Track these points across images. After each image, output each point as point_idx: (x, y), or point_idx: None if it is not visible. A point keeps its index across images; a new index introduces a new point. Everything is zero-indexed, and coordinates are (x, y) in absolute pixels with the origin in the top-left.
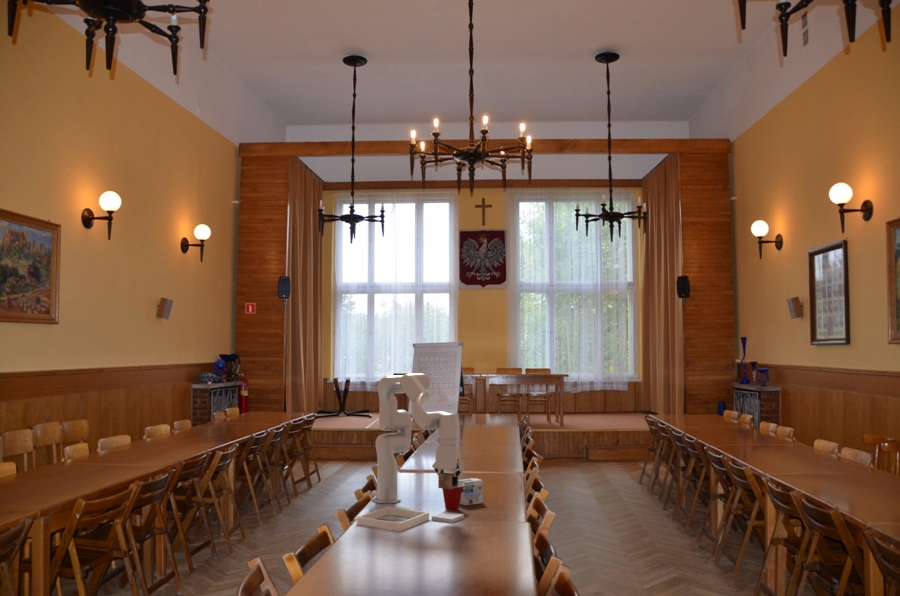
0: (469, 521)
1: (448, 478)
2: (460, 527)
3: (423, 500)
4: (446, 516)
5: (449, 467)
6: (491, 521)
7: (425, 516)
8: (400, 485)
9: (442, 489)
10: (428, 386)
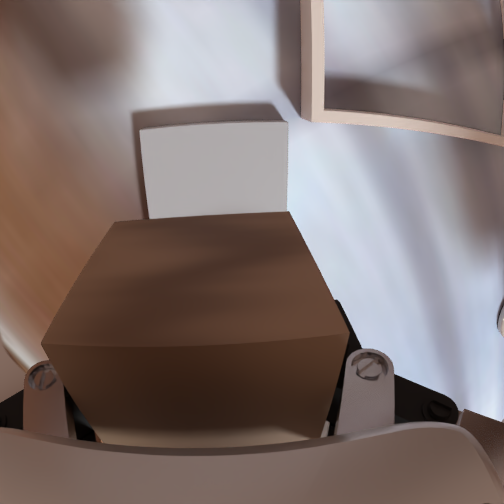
0: (95, 209)
1: (104, 295)
2: (61, 84)
3: (439, 368)
4: (207, 167)
5: (28, 483)
6: (34, 263)
7: (308, 80)
8: (495, 409)
9: None
10: None
